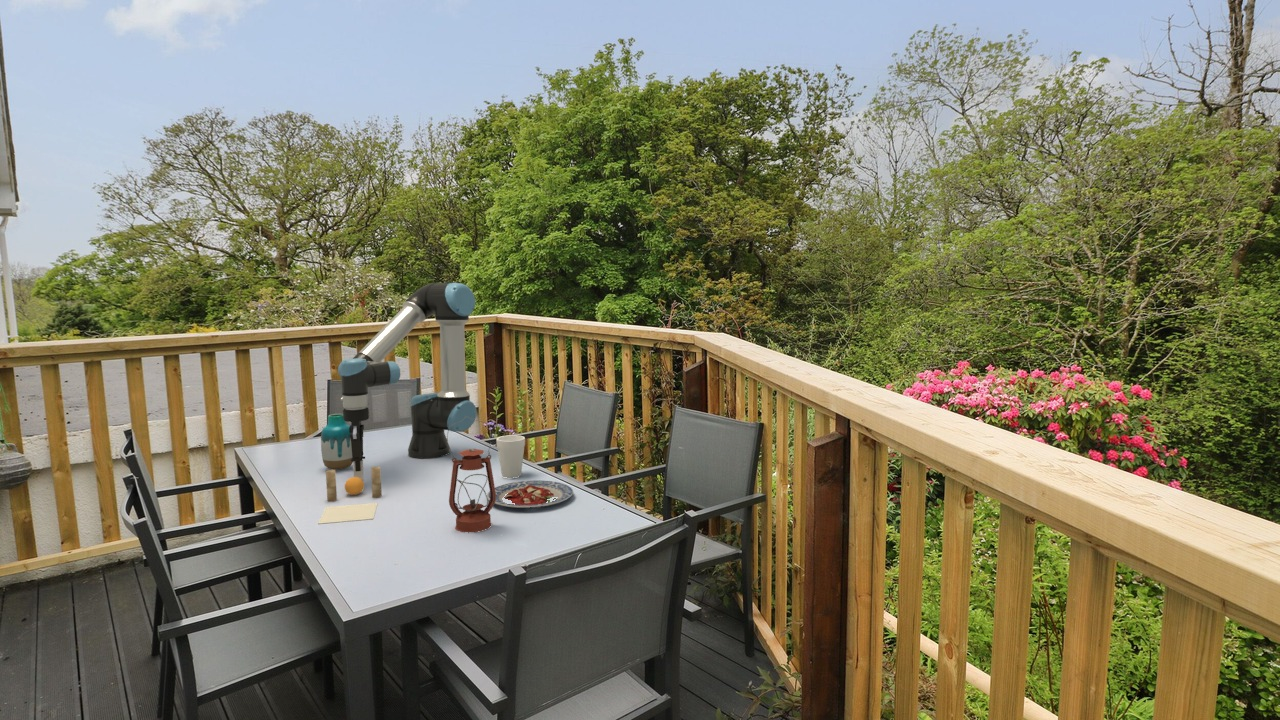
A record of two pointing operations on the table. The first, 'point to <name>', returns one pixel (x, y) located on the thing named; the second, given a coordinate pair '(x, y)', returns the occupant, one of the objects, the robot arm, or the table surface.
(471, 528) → the lantern
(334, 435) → the vase
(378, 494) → the right post
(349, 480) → the ball
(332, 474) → the left post
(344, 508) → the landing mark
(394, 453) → the table surface
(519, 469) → the foam cup
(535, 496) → the ceramic plate
